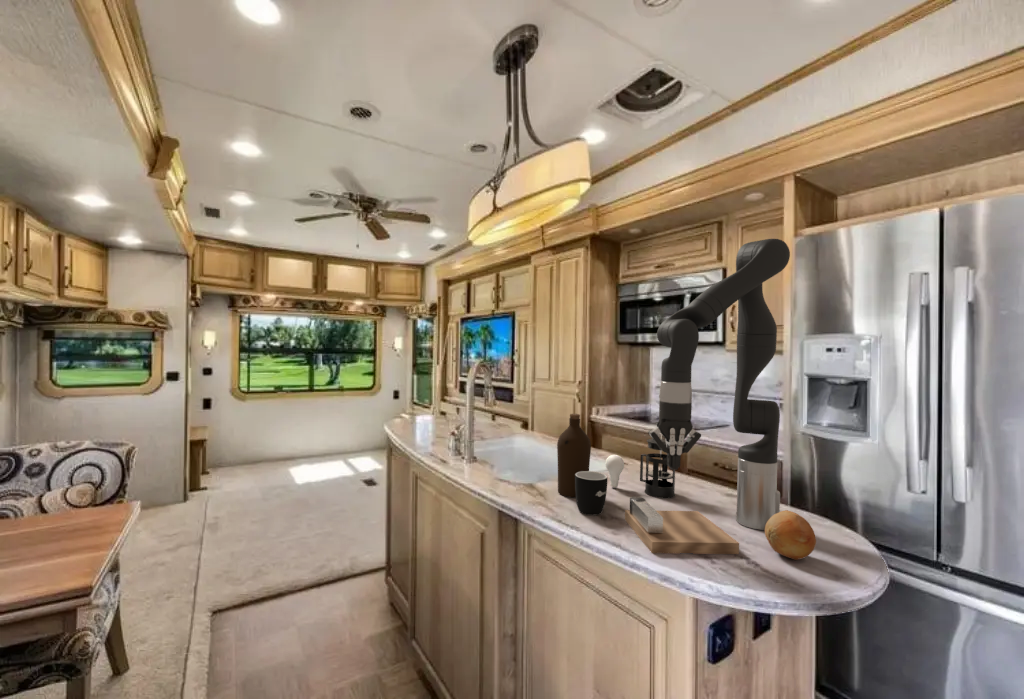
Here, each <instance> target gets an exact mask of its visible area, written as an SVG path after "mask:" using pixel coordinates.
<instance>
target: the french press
mask: <svg viewBox="0 0 1024 699" xmlns="http://www.w3.org/2000/svg"><path fill="white" fill-rule="evenodd" d="M658 422H659V421H656V422H654V424H655V425H657V423H658ZM660 440H661V441H662V442H663V444H664V445H665V446H666V442H665V438H663V435H662V434H661V433H660ZM646 442H647V448H648V449H651V450H656V451H659V453H657V452H656V453H654V452H651V453H641V454H640V461H639V462H640V464H639V465H640V466H639V467H640V468H639V470H640V471H639V482H642V483H645V484H644V486H645V489H644V493H645V495H647V496H650V497H651V498H652V497H653V498H657V499H658V498H659V499H673V498H675V497H676V493H675V492H676V488H675V486H676V485H675V483H676V470H672V472H669V471H668V470H669V469H668V468H669V467H668V465H667V453H662V452H663V451H662V450H660V448H659V447H658V446H657V444H656V443H655V442H654V440H653V439H652V438H648V439H646ZM644 457H645V479H643V476H644ZM649 462H650V463H652V470H649V464H650V463H649ZM649 477H651V479H649ZM669 480H672V482H671V481H669Z"/></svg>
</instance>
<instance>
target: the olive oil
mask: <svg viewBox="0 0 1024 699" xmlns="http://www.w3.org/2000/svg"><path fill="white" fill-rule="evenodd" d="M580 418H581V414H579V413H570V414H569V419H568V420H569V425H568V427H567V428H565V430H564V431H563V432H562V433H561V434H560V435H559V437H558V439H557V444H556V446H557V447H556V449H557V450H556V452H557V453H556V454H557V455H556V456H557V493H558V494H559V495H561V496H564V497H567V498H576V491H575V474H576V473H577V472H581V471H590V462H591V450H592V444H591V439H590V437H589V436H588V435H587V433H586V432H585V431H584V429H583V428H582V427H581V426H580V425H581V419H580Z"/></svg>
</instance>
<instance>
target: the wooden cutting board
mask: <svg viewBox="0 0 1024 699" xmlns="http://www.w3.org/2000/svg"><path fill="white" fill-rule="evenodd" d="M629 510H630V509H625V510H624V520H625V522H626V523H627V524H628V526H629V527H630V528H631V529H632V530H633V532H634V533H635V534H636V535H637V537H639V539H640V540H641V542H642V543H643V544H644V546H645V547H646V548H647V549H648V550H649V551H651V552H650V553H651V554H680V553H693V554H695V555H698V554H699V555H700V554H701V555H702V554H703V555H705V554H706V555H709V554H711V555H739V554H740V542H739V541H737V540H736V539H734V538H733V537H732V536H731V535H730V534H728V533H727V532H726V531H725V530H723V529H722V528H720V527H719V526H718V525H717V524H715V523H714V522H713V521H711V520H710V519H709V518H707V516H704V515H703V514H702V513H700V512H699V511H698V510H656V511H657V512H658V513H659V514H660V515H661V516H662V517H663V533H648V532H647V531H646V530H645V528H644V527H643V526H642V525H641V524H640V523H639V521H638V520H637V519H636V518H635V517H634V516H633V514H631V513H630V512H629ZM693 554H692V555H693Z"/></svg>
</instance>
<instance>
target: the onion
mask: <svg viewBox="0 0 1024 699" xmlns="http://www.w3.org/2000/svg"><path fill="white" fill-rule="evenodd" d="M764 535H765V538H766V541H767V542H768V544H769V545H770V548H771V549H772V550H773V551H774V552H775V553H777V554H779V555H782V556H783V557H786V558H789V559H791V560H794V561H795V560H802V559H804V558H806V557H808V556H810V554H812V553H813V551H814V550H815V547H816V545H817V536H816V534H815V531H814V528H813V527H812V525H811V524H810V522H808V520H807V519H806V518H804V517H803V516H802V515H800V514H798V513H796V512H793V511H791V510H787V509H785V510H782V511H781V510H780V512H779V513H776V514H774V515H773V516H772V517H771V518H770V519H769V520H768V521H767V523H766V525H765V530H764Z"/></svg>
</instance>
